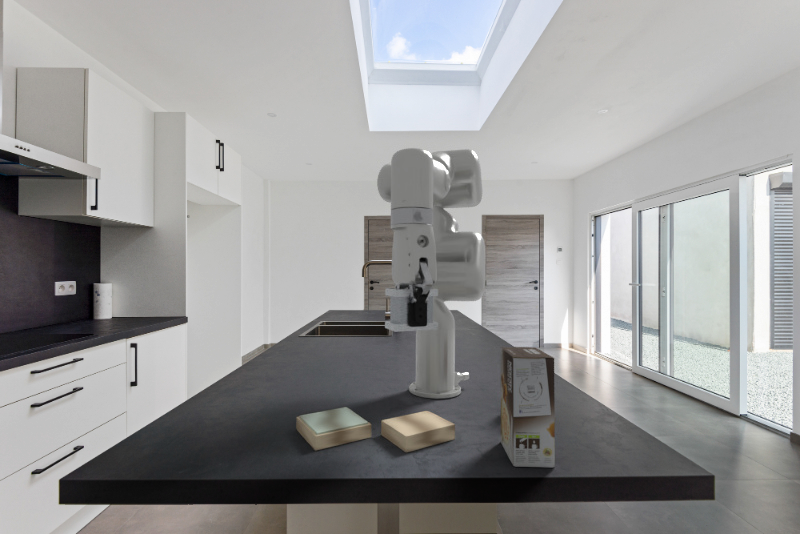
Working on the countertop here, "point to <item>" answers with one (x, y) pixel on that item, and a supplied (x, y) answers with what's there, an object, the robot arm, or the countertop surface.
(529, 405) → the coffee box
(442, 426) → the beige piece
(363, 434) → the stand
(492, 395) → the countertop surface
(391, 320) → the housing
